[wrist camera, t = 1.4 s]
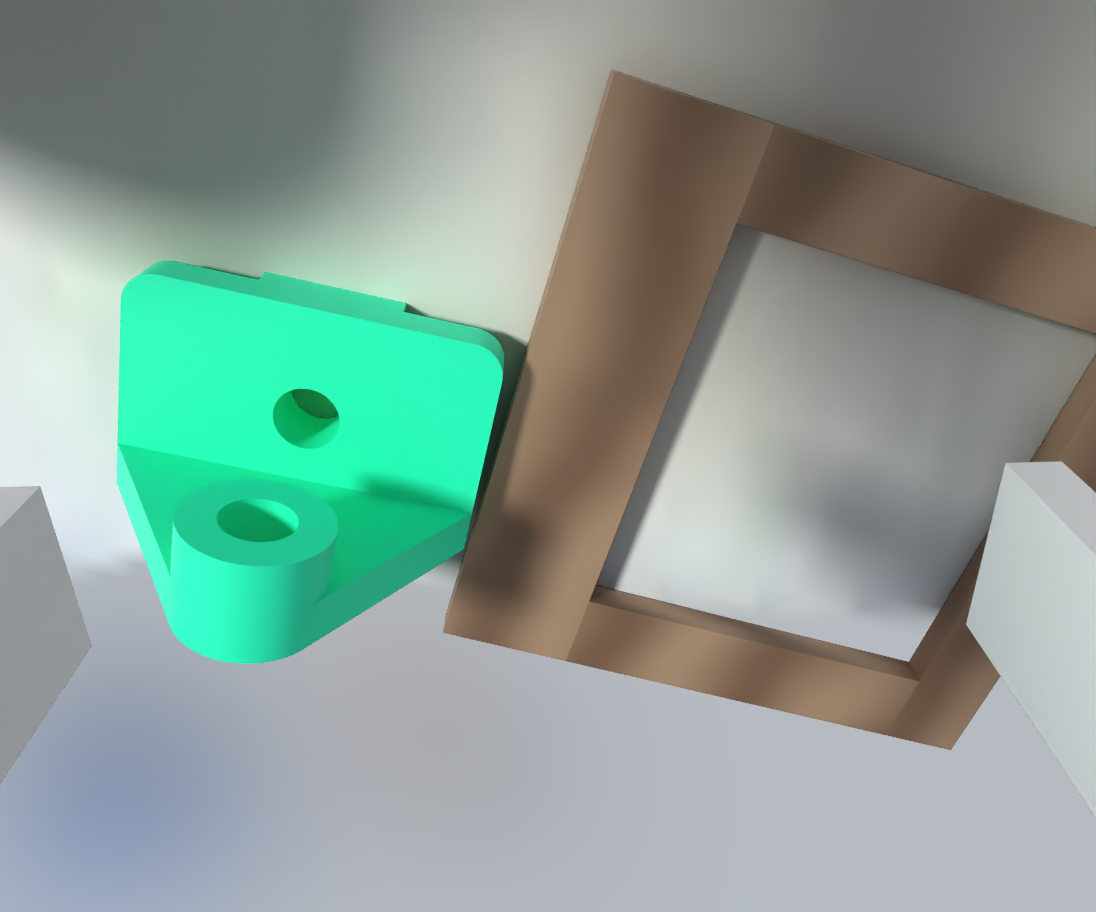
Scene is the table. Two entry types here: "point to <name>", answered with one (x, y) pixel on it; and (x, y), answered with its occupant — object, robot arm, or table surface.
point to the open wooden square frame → (654, 362)
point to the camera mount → (292, 451)
